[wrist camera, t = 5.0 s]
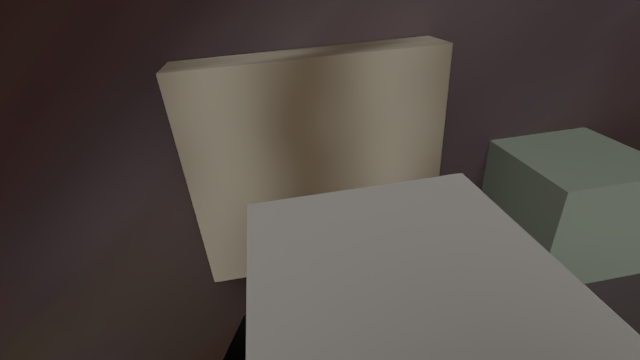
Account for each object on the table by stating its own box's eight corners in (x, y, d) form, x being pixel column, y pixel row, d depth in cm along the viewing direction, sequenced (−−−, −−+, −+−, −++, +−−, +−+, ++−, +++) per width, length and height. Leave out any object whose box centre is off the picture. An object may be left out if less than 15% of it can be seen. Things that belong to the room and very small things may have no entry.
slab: (428, 35, 14) (453, 43, 13) (415, 221, 19) (431, 245, 17) (167, 61, 13) (156, 74, 12) (218, 252, 18) (214, 282, 16)
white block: (461, 173, 9) (676, 368, 4) (441, 318, 11) (565, 537, 7) (247, 204, 8) (244, 465, 4) (276, 350, 10) (294, 611, 6)
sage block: (583, 126, 18) (689, 173, 14) (558, 210, 20) (641, 273, 16) (489, 139, 17) (568, 192, 13) (474, 224, 20) (537, 293, 16)
